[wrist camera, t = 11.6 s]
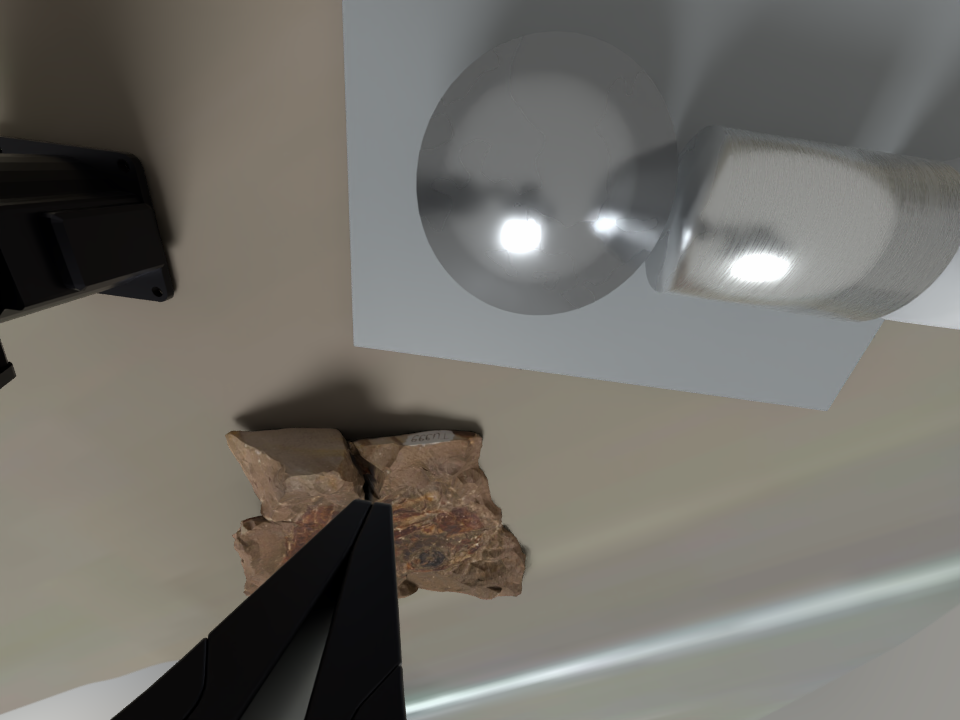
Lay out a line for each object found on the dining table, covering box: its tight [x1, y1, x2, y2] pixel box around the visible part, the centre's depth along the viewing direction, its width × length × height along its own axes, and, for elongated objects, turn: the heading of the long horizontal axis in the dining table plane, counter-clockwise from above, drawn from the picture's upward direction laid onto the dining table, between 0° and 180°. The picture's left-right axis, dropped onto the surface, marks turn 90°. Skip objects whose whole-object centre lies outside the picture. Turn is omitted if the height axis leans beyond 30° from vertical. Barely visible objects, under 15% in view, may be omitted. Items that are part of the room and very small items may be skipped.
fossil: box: [225, 428, 526, 600], centre depth 24 cm, size 20×16×5 cm
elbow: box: [416, 31, 960, 322], centre depth 13 cm, size 15×8×5 cm, turn 82°
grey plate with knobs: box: [342, 0, 960, 411], centre depth 13 cm, size 23×18×6 cm
